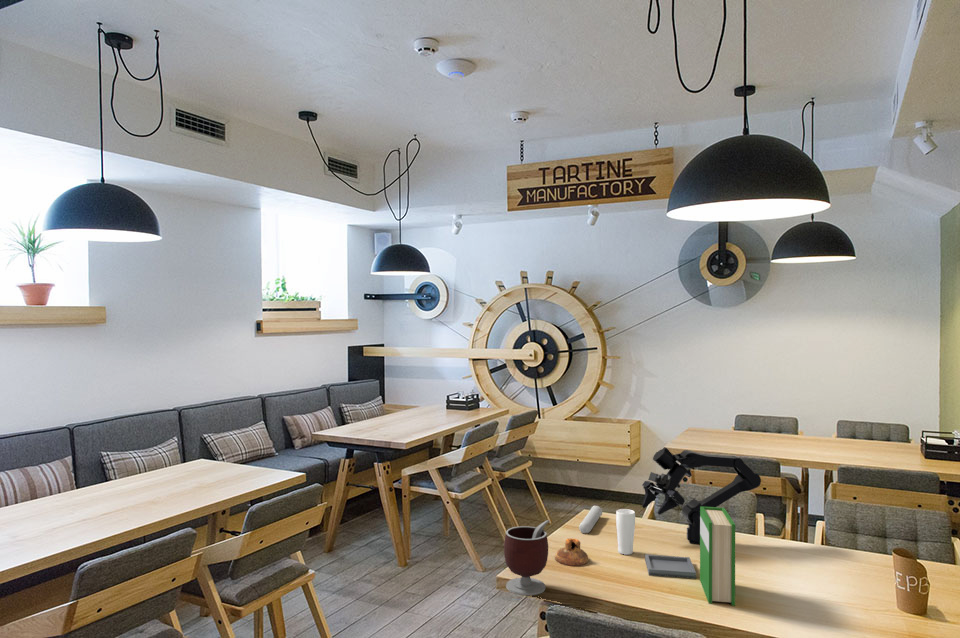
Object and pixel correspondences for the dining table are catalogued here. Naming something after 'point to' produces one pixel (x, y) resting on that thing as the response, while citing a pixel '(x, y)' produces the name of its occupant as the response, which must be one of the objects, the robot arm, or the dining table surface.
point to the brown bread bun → (571, 554)
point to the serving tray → (670, 566)
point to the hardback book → (717, 554)
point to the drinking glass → (625, 530)
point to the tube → (590, 519)
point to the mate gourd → (526, 558)
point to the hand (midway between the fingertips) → (650, 510)
